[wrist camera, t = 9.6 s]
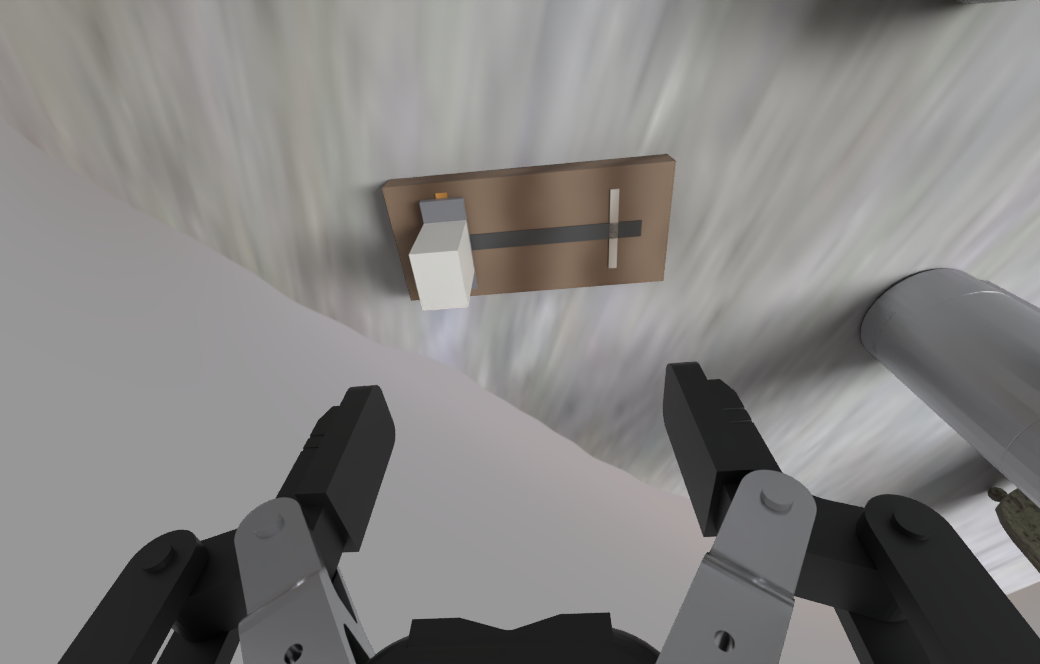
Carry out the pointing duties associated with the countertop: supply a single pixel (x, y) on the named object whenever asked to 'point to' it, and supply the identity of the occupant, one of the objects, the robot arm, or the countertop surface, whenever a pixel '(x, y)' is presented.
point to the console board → (550, 222)
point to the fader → (443, 255)
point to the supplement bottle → (982, 1)
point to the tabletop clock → (1019, 521)
